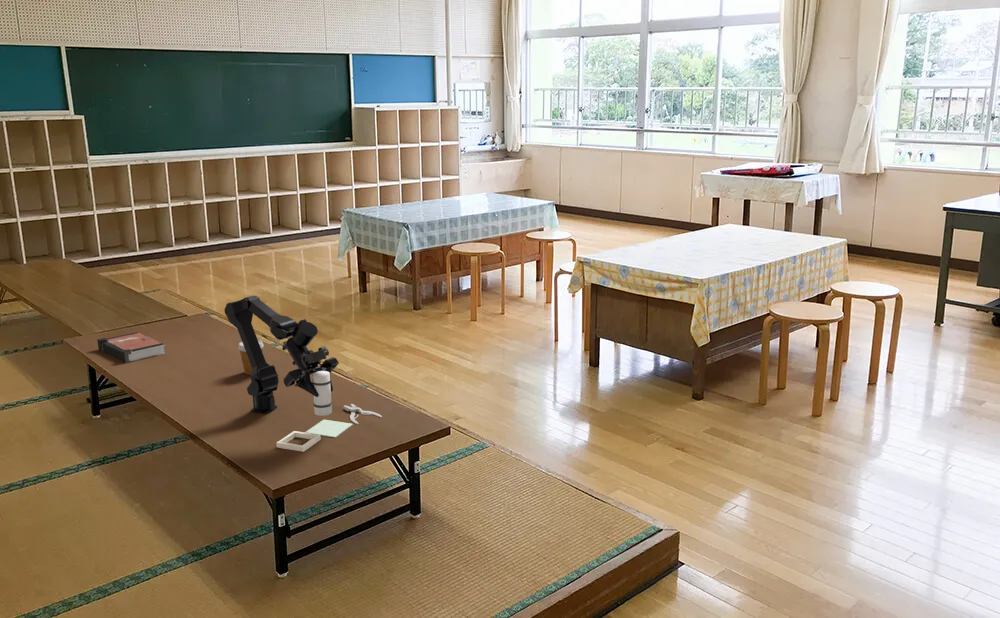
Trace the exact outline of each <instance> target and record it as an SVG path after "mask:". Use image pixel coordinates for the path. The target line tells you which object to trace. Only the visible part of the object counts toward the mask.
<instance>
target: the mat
mask: <svg viewBox="0 0 1000 618" xmlns="http://www.w3.org/2000/svg"><path fill="white" fill-rule="evenodd" d="M353 426H354V423H350V422H343V421H335V420H330V419H322V420H321V421H319V422H318V423H316V424H314V425H313V426H312V427H311V428H309V429H307V430H306V431H305V433H311V434H317V435H321V436H323V437H330V438H335V439H336V438H337V437H339V436H340V435H342V434H343V433H344V432H346V431H347V430H348V429H349V428H350V427H353Z"/></svg>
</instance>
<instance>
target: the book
mask: <svg viewBox="0 0 1000 618" xmlns="http://www.w3.org/2000/svg"><path fill="white" fill-rule="evenodd" d="M165 347H166V344H165V343H162V342H160V341H158V340H156V339H153V337H152V336H146V335H143V334H142V333H139V332H131V333H127V334H123V335H117V336H113V337H109V338H106V337H102V338H97V349H98V351H100V352H104V353H106V354H108V355H110V356H113V357H114V358H117V359H118V360H120V361H121V362H122V363H124V364H128V363H132V362H137V361H141V360H145V359H150V358H154V357H157V356H163V355H166V354H167V353H166V352H165Z"/></svg>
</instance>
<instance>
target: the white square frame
mask: <svg viewBox="0 0 1000 618" xmlns="http://www.w3.org/2000/svg"><path fill="white" fill-rule="evenodd" d="M305 432H306V431H305ZM305 432H303V431H297V430H293V431H292V432H290V433H288V435H286V436H284V437H283V438H282V439H280V440H278V441H276V448H280V449H285V450H291V451H297V452H303V453H304V452H306V451H307V450H308V449H310V448H311V447H312V446H314V445H315V444H317V443H318V442H320V441H321V439H322V437H321V435H317V434H311V433H305ZM294 438H301V439H307V440H308V441H307V442H305V443H304V444H303V445H302V444H297V443H296V444H295V443H290V441H292V440H293V439H294Z"/></svg>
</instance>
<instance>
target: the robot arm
mask: <svg viewBox="0 0 1000 618" xmlns="http://www.w3.org/2000/svg"><path fill="white" fill-rule="evenodd" d="M223 310H224V314H225V315H226V318H227V320H228V322H229V323H230V324H231V325H233V327H235V328H236V329H237V332H238V335H239V337H240V340H241V342H243V345H244V348H245V350H246V353H247V356H248V358H249V361H250V364H251V366H252V370H251V375H249V377H250V381H251V382H250V383H249V384H248V386H247V387H246V391H247V394H248V395H249V396H252V404H253V405H252V406H253V407H252V408H251V409H250V412H253V413H262V414H268V413H269V412H271V411H273V410H274V409H276V408H278V406H277V405H276V401H275V396H274V392H276V391H277V390H278V386H279V374H278V373H277V370H276V367H275V365H274V364H272V365H270V364H269V363H267V361H266V358H265V355H264V353H262V350H261V347H260V345H259V342H258V340H259V339H258V337H257V333H256V331H255V329H254V326H253V323H252V322H253V317H254V316H256V317H257V318H258V319H260V321H261V322H263V323H265V325H267V326H268V328H269V332H270V333H271V334H272V336H274V337H275V339H276V340H279V341H280V340H285V341H283V343H282V348H281V349H282V351H287V352H288V353H289V356H290V357H291V358H292V360H293V361H292V363H291V364H292V365H293V366H297V368H296V369H293V370H290V371H289V372H288V373H287V374H286V375H285V376H284V378H283V384H284V386H285V387H286V388H289V387H292V386H294V387H296V388H297V387H298V388H299V389H303V390H304V391H306V392H308V393H309V394H311V395H312V396H313V397H314V396H315V397H318V396H319V394H318V392H317V390H316V389H315V387H314V385H313V384H312V381H311V376H312V374H313V373H314V372H317V371H327V372H329V373H330V374H331V373H332V372H334V370H335V369H336V368H337V366H338V365H339V364H340V362H339V361H338V358H336V357H329V358H328V359H327V356H329V354H330V353H329V349H328V348H327V347H326V346H325V345H324V346H320V347H318V350H317V351H314V350H312V349H309V348H308V346H309V345H310V344H311V342H312V341H313V340H314V339H315V337H317V335H318V332H319V331H318V328H317V326H316V325H315V324H313V323H312V322H310V321H307V320H306V318H304V319H299V322H297V321H296V320H295V319H293V318H292V317H289V316H286V315H282V314H280V313H278V312H276V310H274V309H272V307H270V306H269V305H267V304H266V303H265V302H264V301H262V300H261V299H260V297H259V296H258V295H251V296H245V297H243V298H242V299H239V300H235V301H230V302H227V303H226V305H225V307H224V309H223ZM286 339H287V340H286ZM322 360H324V361H323V362H322ZM321 362H322V363H321ZM319 364H320V365H319ZM330 379H331V375H330ZM331 380H332V379H331ZM330 386H331V393H332V392H333V391H334V387H333V384H332V381H331V383H330Z"/></svg>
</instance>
